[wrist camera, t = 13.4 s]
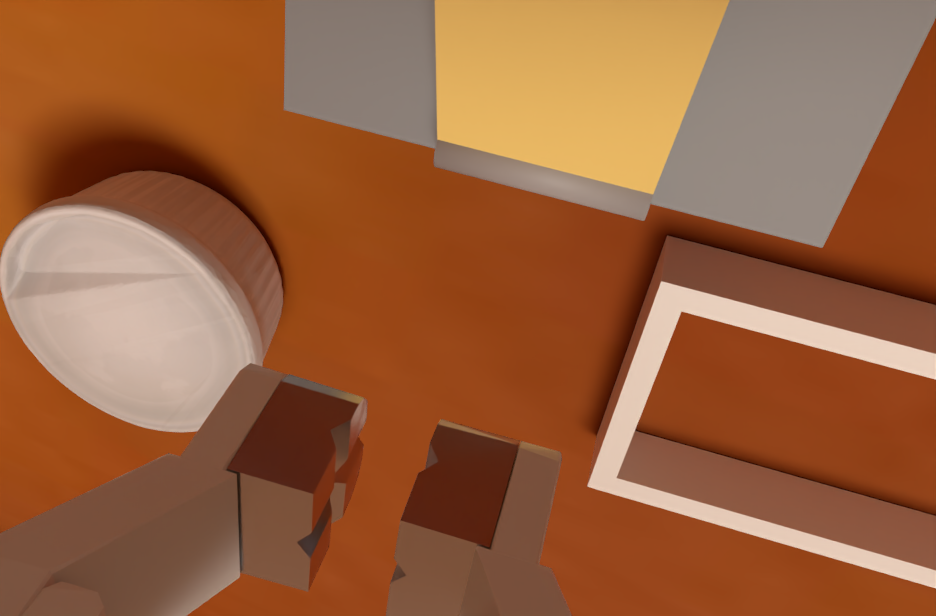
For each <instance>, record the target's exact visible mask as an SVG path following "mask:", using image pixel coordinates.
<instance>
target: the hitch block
mask: <svg viewBox="0 0 936 616" xmlns="http://www.w3.org/2000/svg"><path fill="white" fill-rule="evenodd" d="M935 18H936V0H730V1H729V3H728V6H727V8H726V11H725V13H724V16H723V19H722V21H721V24H720V26H719V29H718V31H717V34H716V36H715V39H714V41H713V44H712V46H711V49H710V51H709V54H708V57H707V59H706V62H705V64H704V67H703V69H702V72H701V74H700V77H699V79H698V82H697V84H696V87H695V90H694V92H693V95H692V97H691V100H690V102H689V105H688V107H687V110H686V112H685V115H684V117H683V120H682V123H681V125H680V128H679V130H678V133H677V135H676V138H675V140H674V143H673V145H672V148H671V150H670V153H669V155H668V158H667V161H666V163H665V166H664V168H663V171H662V173H661V176H660V178H659V181H658V183H657V186H656V188H655V191H654V194H653V197H652V200H651V203H650V204H653V205H657V206H661V207H665V208H669V209H673V210H677V211H681V212H684V213H688V214H692V215H696V216H700V217H704V218H708V219H712V220H716V221H720V222H723V223H727V224H731V225H735V226H739V227H743V228H747V229H751V230H755V231H759V232H762V233H766V234H770V235H774V236H778V237H782V238H786V239H790V240H794V241H798V242H801V243H805V244H809V245H813V246H817V247H821V248H823V246H824V244H825V242H826V240H827V237H828V235H829V233H830V231H831V229H832V227H833V225H834V223H835V221H836V219H837V217H838V215H839V213H840V211H841V209H842V207H843V205H844V203H845V201H846V199H847V197H848V195H849V193H850V191H851V189H852V187H853V185H854V183H855V181H856V179H857V177H858V175H859V172H860V170H861V168H862V166H863V164H864V162H865V160H866V158H867V156H868V154H869V152H870V150H871V148H872V146H873V144H874V142H875V140H876V138H877V136H878V134H879V132H880V130H881V128H882V126H883V124H884V122H885V120H886V118H887V116H888V114H889V112H890V110H891V108H892V105H893V103H894V101H895V99H896V97H897V95H898V93H899V91H900V89H901V87H902V85H903V83H904V81H905V79H906V77H907V75H908V73H909V71H910V69H911V67H912V65H913V63H914V61H915V59H916V57H917V55H918V53H919V51H920V49H921V47H922V45H923V43H924V40H925V38H926V36H927V34H928V32H929V30H930V28H931V26H932V24H933V22H934V20H935ZM284 110H287V111H291V112H294V113H298V114H302V115H306V116H310V117H314V118H318V119H322V120H326V121H330V122H333V123H337V124H341V125H345V126H349V127H353V128H357V129H361V130H365V131H369V132H372V133H376V134H380V135H384V136H388V137H392V138H396V139H400V140H404V141H408V142H411V143H415V144H419V145H423V146H427V147H431V148H436V143H437V96H436V42H435V0H286V5H285V75H284Z"/></svg>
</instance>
